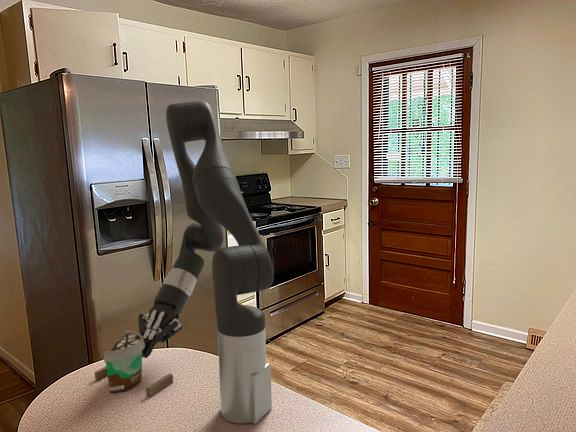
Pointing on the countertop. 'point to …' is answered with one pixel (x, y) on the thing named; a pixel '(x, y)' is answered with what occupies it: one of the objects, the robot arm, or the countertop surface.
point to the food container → (125, 363)
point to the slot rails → (150, 389)
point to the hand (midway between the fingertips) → (142, 356)
